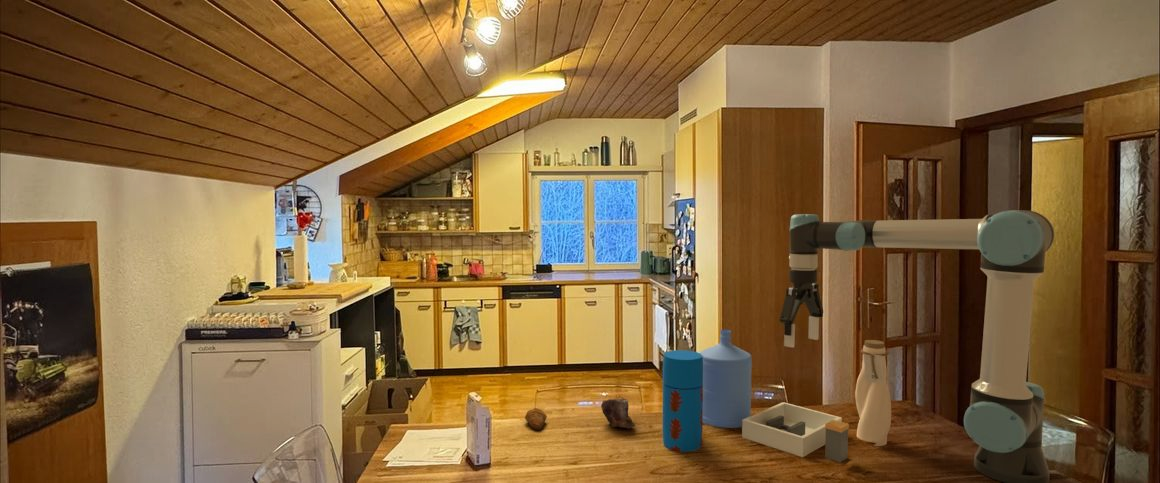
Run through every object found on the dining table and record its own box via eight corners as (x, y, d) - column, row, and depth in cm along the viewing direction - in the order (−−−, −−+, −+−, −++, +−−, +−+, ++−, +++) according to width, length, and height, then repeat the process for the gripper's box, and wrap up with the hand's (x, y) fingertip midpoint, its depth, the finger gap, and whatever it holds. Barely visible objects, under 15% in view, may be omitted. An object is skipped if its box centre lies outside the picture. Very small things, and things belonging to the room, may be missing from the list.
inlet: (805, 434, 172) (805, 422, 172) (791, 441, 167) (791, 429, 167) (779, 426, 178) (780, 415, 178) (765, 433, 173) (765, 421, 172)
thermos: (656, 447, 166) (657, 357, 164) (670, 433, 176) (670, 348, 174) (695, 454, 161) (696, 361, 159) (707, 440, 170) (707, 352, 169)
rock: (632, 423, 188) (599, 422, 188) (632, 394, 189) (600, 394, 188) (636, 431, 176) (601, 430, 176) (636, 401, 177) (602, 400, 177)
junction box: (841, 438, 172) (841, 417, 171) (802, 460, 157) (803, 438, 157) (782, 421, 185) (783, 402, 185) (742, 440, 170) (742, 419, 170)
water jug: (761, 428, 180) (762, 334, 178) (713, 433, 176) (714, 338, 174) (734, 410, 195) (735, 324, 193) (689, 415, 191) (690, 327, 189)
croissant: (523, 417, 191) (523, 401, 190) (544, 415, 192) (544, 400, 191) (526, 433, 177) (526, 416, 177) (549, 431, 178) (549, 415, 178)
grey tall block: (847, 461, 156) (848, 423, 156) (840, 466, 154) (841, 428, 153) (831, 456, 160) (832, 419, 159) (824, 461, 157) (825, 423, 156)
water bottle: (895, 450, 163) (899, 347, 161) (859, 447, 165) (862, 346, 163) (884, 435, 173) (887, 339, 171) (850, 433, 175) (853, 337, 173)
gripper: (812, 264, 183) (810, 334, 185) (767, 271, 167) (766, 347, 168) (836, 266, 177) (835, 338, 179) (792, 273, 161) (791, 352, 162)
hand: (801, 342), depth 173 cm, fingers open, 13 cm apart
